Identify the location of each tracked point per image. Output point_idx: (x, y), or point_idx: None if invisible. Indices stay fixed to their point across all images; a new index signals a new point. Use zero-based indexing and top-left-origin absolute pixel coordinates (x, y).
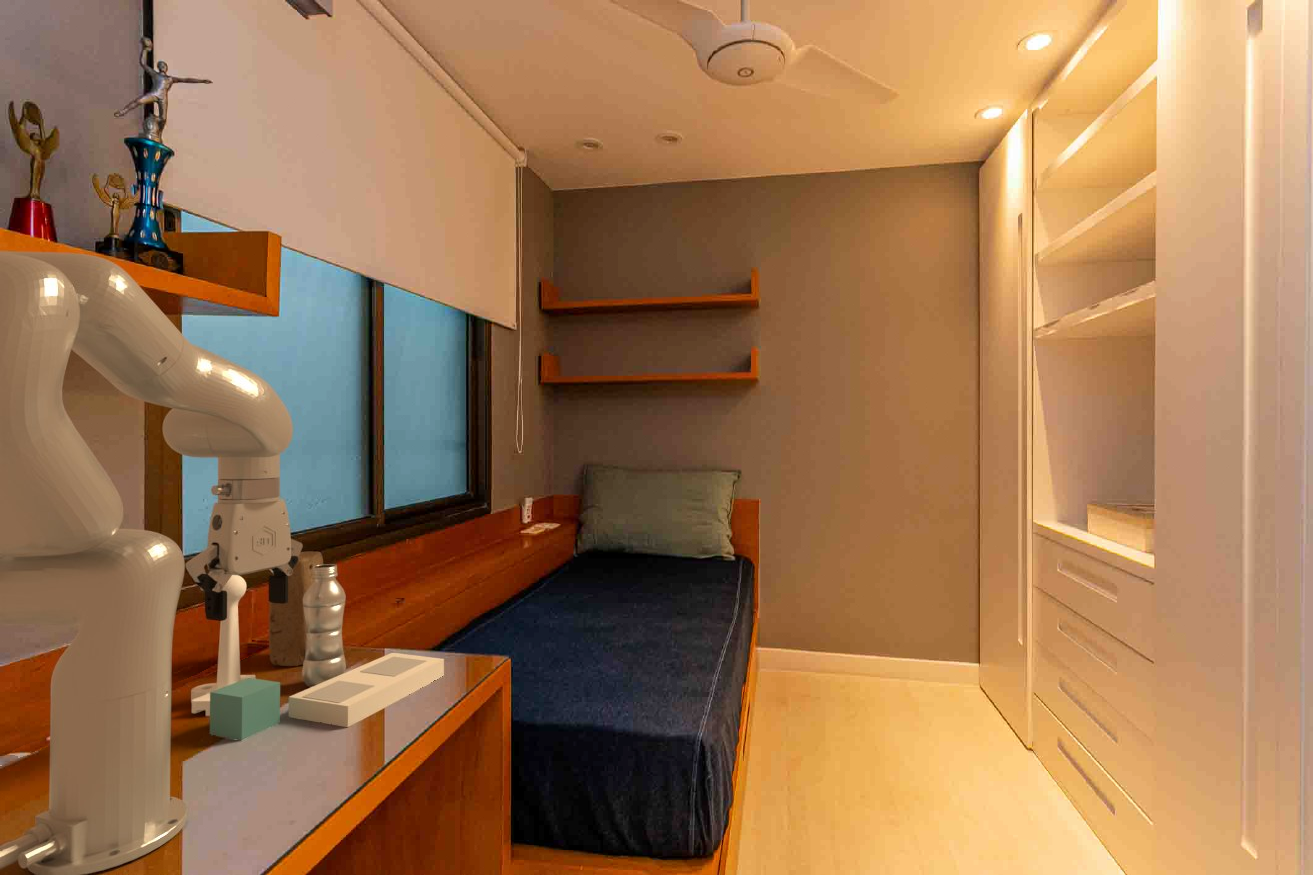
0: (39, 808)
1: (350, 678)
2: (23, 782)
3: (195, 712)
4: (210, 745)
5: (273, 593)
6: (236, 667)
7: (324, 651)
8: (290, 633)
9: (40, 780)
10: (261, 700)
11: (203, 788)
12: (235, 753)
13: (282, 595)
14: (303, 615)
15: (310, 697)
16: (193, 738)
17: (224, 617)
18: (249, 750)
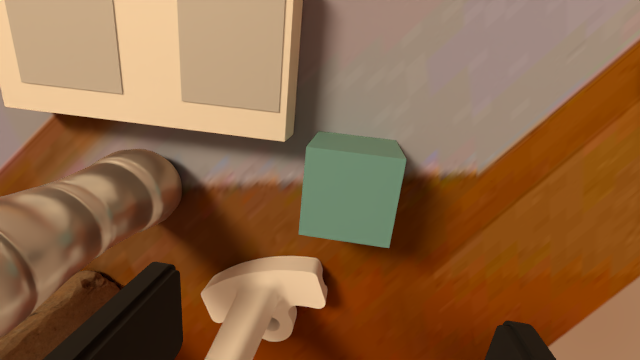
0: (636, 247)
1: (160, 86)
2: (557, 327)
3: (326, 286)
4: (419, 177)
5: (154, 357)
6: (241, 308)
7: (122, 185)
8: (71, 333)
9: (551, 312)
10: (357, 147)
11: (577, 54)
12: (443, 110)
13: (154, 299)
14: (15, 344)
15: (277, 90)
16: (400, 224)
17: (527, 327)
18: (429, 95)
